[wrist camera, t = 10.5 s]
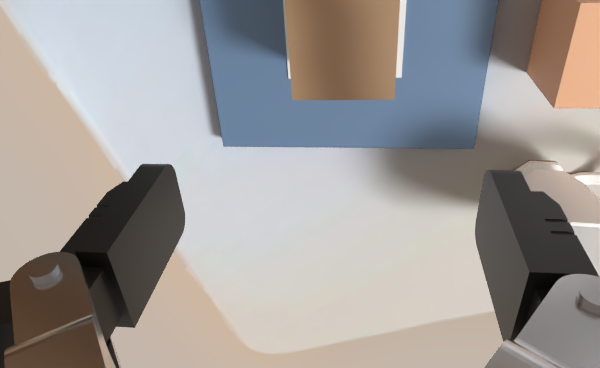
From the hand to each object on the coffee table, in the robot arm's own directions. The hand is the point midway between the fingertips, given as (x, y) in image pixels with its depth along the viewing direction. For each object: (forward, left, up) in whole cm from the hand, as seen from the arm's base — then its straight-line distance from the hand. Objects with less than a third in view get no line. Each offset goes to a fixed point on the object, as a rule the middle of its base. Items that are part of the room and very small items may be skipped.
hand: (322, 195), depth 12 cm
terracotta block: (-13, +1, -18) cm, 22 cm away
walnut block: (0, 0, -17) cm, 17 cm away
